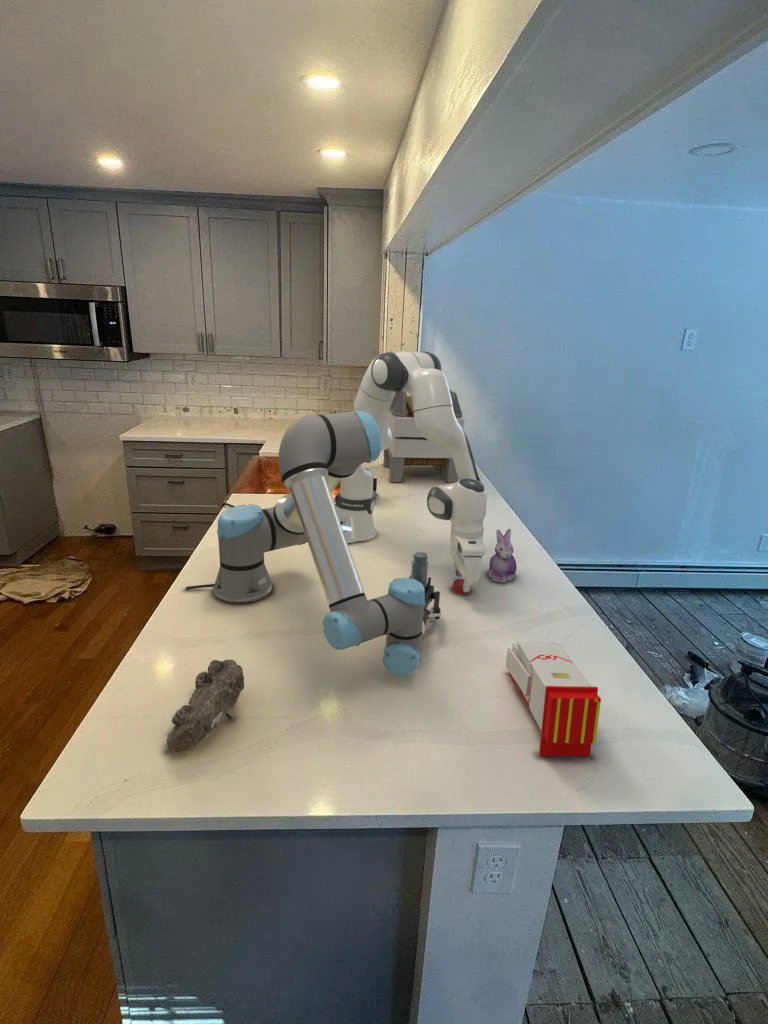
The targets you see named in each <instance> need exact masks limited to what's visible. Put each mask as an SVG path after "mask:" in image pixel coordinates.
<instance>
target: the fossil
mask: <svg viewBox="0 0 768 1024" xmlns="http://www.w3.org/2000/svg"><path fill="white" fill-rule="evenodd" d="M243 670H244V669H243V667H242V665H240V664H237V662H236V661H235V660H234V659H232V658H231V659H227V658H226V659H224V660H223V661H222V660H217V659H212V660H211V661H210V663H209V665H208V666H207V671H201V672H199V673H198V674H197V675H196V676H195V680H194V684H195V685H194V687H195V689H194V690H193V693H192V694H191V697H190V698H189V700H188V704H184V705H182V706H181V707H180V709H177V710H176V711H175V713H174V715H173V716H172V718H171V723H172V724H173V727H172V730H171V731H170V732H168V734H167V738H166V741H167V742H166V745H167V749H168V750H169V751H173V752H174V753H176V754H178V753H182V752H188V751H189V752H192V751H193V750H195V748H196V747H197V746H199V744H200V743H201V742H203V741H204V740H205V739H206V738H207V737H208V736H209V735H210V734H211V733H212V732H214V730H215V729H217V727H218V726H219V724H220V722H221V721H222V720H223V719H224V718H225V716H226V717H227V719H229V720H233V717H232V715H230V714H229V710H230V709H231V708H234V706H235V704H236V703H237V702H238V699H239V697H240V695H241V693H242V691H243V690H245V689H244V688H245V675H244V671H243Z"/></svg>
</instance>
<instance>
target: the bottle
mask: <svg viewBox="0 0 768 1024" xmlns="http://www.w3.org/2000/svg"><path fill="white" fill-rule="evenodd" d="M412 558H413V559H412V561H411V567H410V575H411V578H412V579H415V580H417V581H418V582H420V583H422V585H423V586H424V589H425V594H426V586H427V581H428V572H429V561H428V558H429V556H428V553H426V552H423V551H416V552H414V553H413V554H412Z"/></svg>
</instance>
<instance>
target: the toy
mask: <svg viewBox="0 0 768 1024" xmlns="http://www.w3.org/2000/svg"><path fill="white" fill-rule="evenodd" d="M511 646H512V647H508V648H507V653H506V658H505V659H506V660H505V668H506V669H507V671H508V675H509V676H510V677H511V679H512V681H513V682H514V684H515V686H516V688H517V689H518V691H519V693H520V694H521V696H522V698H523V700H524V702H525V703H526V705H527V706H528V708H529V710H530V712H531V715H532V716H533V718H534V720H535V722H536V723H537V724H536V725H537V726H538V727H539V730H540V731H541V733H540V739H539V740H540V741H539V749H538V751H539V752H538V754H539V756H543V757H548V756H550V757H551V756H552V757H553V756H554V757H568V756H569V757H591V751H592V744H596V743H597V734H598V726H599V717H600V710H601V702H602V698H601V697H600V696H599V694H598V693H599V688H598V686H592V684H590V682H589V681H588V680H587V678H586V677H585V676H584V675H583V673H582V672H581V671H580V669H579V668H578V667H577V665H576V664H575V663H574V661H573V660H572V659H571V658H570V656H569V655H568V654H567V652H566V651H565V649H564V647H562V645H561V644H560V643H559V642H553V641H551V642H549V641H548V642H547V641H546V642H545V641H517V642H512V645H511Z"/></svg>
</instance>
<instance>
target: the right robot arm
mask: <svg viewBox="0 0 768 1024" xmlns="http://www.w3.org/2000/svg"><path fill="white" fill-rule="evenodd" d="M449 389H450V387H449V384H448V381H447V378H446V376H445V374H444V372H443V371H442V364H441V361H440V359H439V357H438V356H437V355H435V354H434V353H432V352H428V351H425V350H423V351H417V350H403V351H386V352H383V353H380V354H378V355H377V356H375V358H373V359H372V361H371V362H370V363H369V366H368V367H367V369H366V371H365V373H364V375H363V376H362V379H361V381H360V384H359V387H358V390H357V393H356V396H355V398H354V401H353V408H354V411H364V412H367V413H369V414H370V415H371V416H372V417H373V418H374V419H375V421H376V422H377V424H378V427H379V430H380V434H381V442H382V446H381V452H384V450H386V449H387V448H389V446H390V445H391V442H392V433H391V430H390V428H389V427H388V425H387V423H386V417H387V414H388V411H389V408H390V406H391V403H392V401H393V398H394V396H395V393H396V392H401V391H406V393H407V394H409V396H411V399H412V405H413V412H414V420H415V424H416V427H417V430H418V432H419V433H420V434H421V435H422V436H423V437H424V438H426V439H427V440H429V441H432V442H435V443H438V444H440V445H442V446H444V447H445V448H447V449H448V450H449V452H450V453H451V455H452V458H453V462H454V465H455V469H456V472H457V476H458V482H455V483H444V484H438V485H435V486H433V487H431V488H430V490H429V491H428V493H427V496H426V506H427V510H428V512H429V513H430V514H431V515H432V517H434V518H436V519H438V520H442V521H450V522H451V526H450V537H449V543H450V546H449V555H450V557H451V558H452V560H453V563H454V564H453V565H454V566H453V567H454V575H455V576H456V577H462V579H464V584H463V585H462V589H463V591H464V592H469V591H470V592H471V588H470V586H471V587H472V585H473V584H478V583H479V581H480V580H481V575H482V569H483V563H484V562H483V561H484V560H483V557H484V556H486V546H485V541H484V530H485V528H484V527H485V526H484V519H485V517H486V512H487V501H488V500H487V498H488V497H487V489H486V486H485V484H484V483H482V481H481V479H480V476H479V473H478V470H477V466H476V463H475V459H474V455H473V451H472V447H471V444H470V441H469V438H468V435H467V433H466V431H465V428H464V429H463V428H462V427H461V426H460V425H459V423H458V421H457V419H456V417H455V414H454V410H453V406H452V399H451V394H450V390H451V389H450V390H449ZM373 478H374V474H373V472H372V471H371V469H369V468H368V467H366V466H364V463H362V464H361V465H360V466H359V467H358V468H357V470H356V471H355V472H354V473H353V475H351V476H350V477H348V478H344V479H341V480H340V482H339V483H340V484H339V485H340V488H339V489H340V490H339V491H338V492H337V494H336V495H335V496H334V497H333V502H334V505H335V508H336V511H337V514H338V517H339V520H340V523H341V526H342V529H343V532H344V535H345V538H346V541H347V543H348V544H352V543H357V542H365V541H368V540H372V539H373V538H375V537H376V535H377V532H376V528H375V523H374V513H373V512H374V509H375V499H374V496H373ZM225 506H227V507H229V508H232V507H235V506H236V505H233V504H231V503H228V502H224V503H222V504H221V505H220V507H225ZM470 592H469V593H470Z"/></svg>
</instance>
